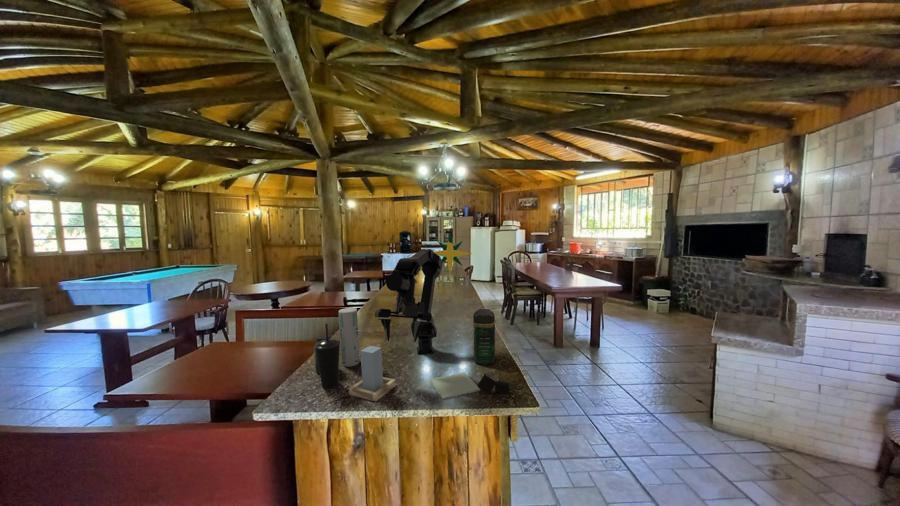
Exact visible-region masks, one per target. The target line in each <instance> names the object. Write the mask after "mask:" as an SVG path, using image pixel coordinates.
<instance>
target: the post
mask: <svg viewBox="0 0 900 506" xmlns="http://www.w3.org/2000/svg"><path fill="white" fill-rule="evenodd" d="M382 350H383V349H382V347H380V346H372V345H369V346H367V347H365V348H364V349H361V350H360V363H361V365H360V367H361V380H362V387H363V388H362V389H364V390H368V391H372V392H376V391H377V390H379V389H380V388H381V387H383V386H384V385H383V377H384V374H383V373H384V372H383V352H382Z"/></svg>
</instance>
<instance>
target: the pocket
mask: <svg viewBox="0 0 900 506" xmlns="http://www.w3.org/2000/svg"><path fill="white" fill-rule="evenodd" d="M396 386H397V380H396V379H395V378H390V377H385V376H383V387H381V388H380V389H379V390H377V391H376V392H372V391H368V390H364V389H363V387H362V379H360V380H359V381H357V382H356V383H355V384H353V385H351V386H350V387H349V388H348V395H349V396H353V397H356V398H361V399H365V400H367V401H368V400H369V401H373V402H377V401H379V400H380V399H381V398H383V397H384V396H385V395H386V394H388V393H389V392H390V391H392V389H394V388H395V387H396Z"/></svg>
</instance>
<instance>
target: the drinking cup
mask: <svg viewBox="0 0 900 506" xmlns="http://www.w3.org/2000/svg"><path fill="white" fill-rule="evenodd" d="M324 325H325V327H324V328H325V335H326V339H325V340H322V341H320V342H318V343H315V344H314V347H315V348H316V353H317V359H318V365H319V371H320V373H319V375H320V382H321V388H322V389H326V390H327V389H333V388H335V387H337V386H338V384H339V366H340V365H339V364H340V363H339V362H340V346H341V342H340V339H339V340H338V339H335V338H331V339H328V335H329V329H328V328H329V327H328V325H329V324H328V323H325V324H324Z"/></svg>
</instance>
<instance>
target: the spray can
mask: <svg viewBox="0 0 900 506" xmlns="http://www.w3.org/2000/svg"><path fill="white" fill-rule="evenodd" d="M358 323H359V321H358V309H357V308H356V307H347V308H342V309H339V310H338V325H339V327H338V328H339V338H340V339H339V341H340V353H341V354H340V356H341V365H342V366H343V367H347V368H350V367H354V366H357V365H359V363H360V345H359V342H360V341H359V324H358Z"/></svg>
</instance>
